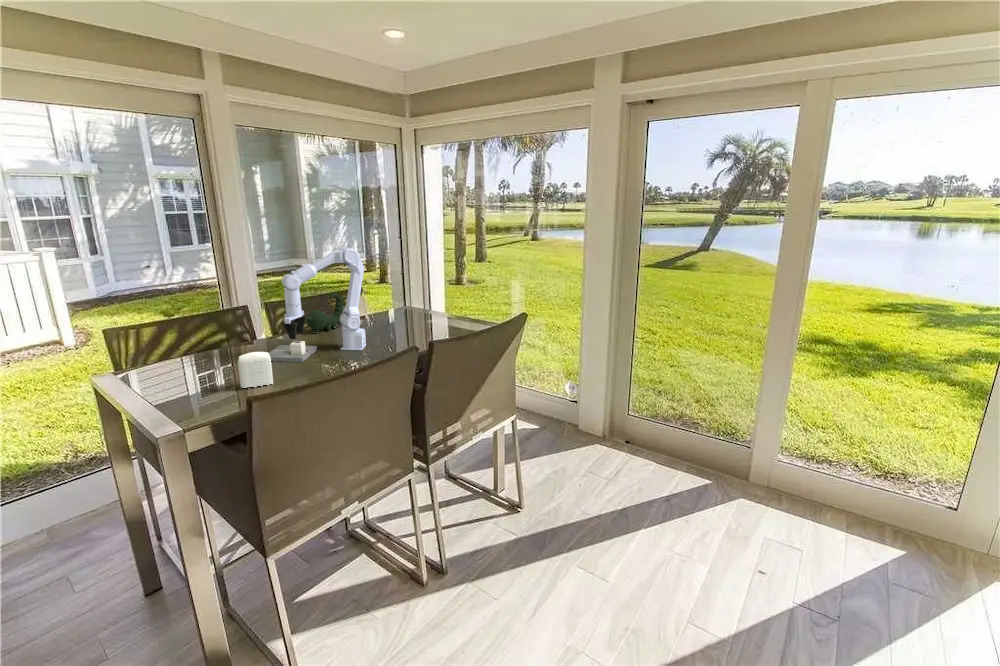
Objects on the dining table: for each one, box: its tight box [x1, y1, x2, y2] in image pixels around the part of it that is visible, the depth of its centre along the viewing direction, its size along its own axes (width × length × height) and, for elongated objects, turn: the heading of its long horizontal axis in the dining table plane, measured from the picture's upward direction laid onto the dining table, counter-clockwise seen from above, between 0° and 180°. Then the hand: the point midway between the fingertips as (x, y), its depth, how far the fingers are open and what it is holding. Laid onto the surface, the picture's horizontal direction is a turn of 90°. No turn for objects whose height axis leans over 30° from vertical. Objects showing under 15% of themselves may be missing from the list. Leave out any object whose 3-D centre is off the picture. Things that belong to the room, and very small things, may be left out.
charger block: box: [289, 340, 306, 355], centre depth 193 cm, size 4×4×7 cm
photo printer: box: [237, 351, 274, 389], centre depth 161 cm, size 10×4×12 cm, turn 123°
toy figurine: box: [305, 292, 346, 333], centre depth 230 cm, size 9×19×25 cm
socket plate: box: [268, 344, 318, 363], centre depth 194 cm, size 16×16×2 cm
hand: (296, 336), depth 191 cm, fingers open, 7 cm apart
